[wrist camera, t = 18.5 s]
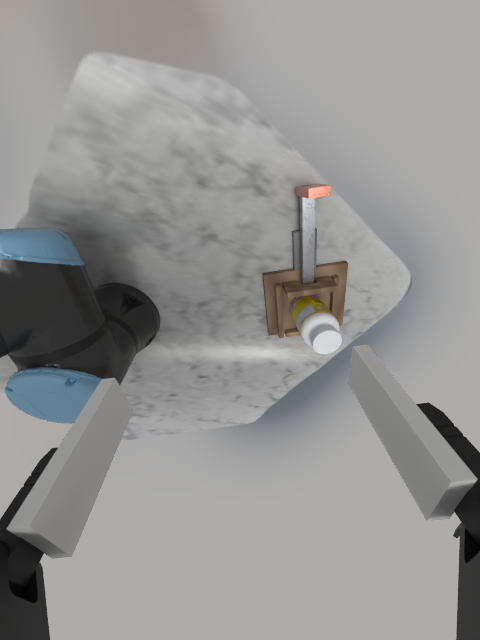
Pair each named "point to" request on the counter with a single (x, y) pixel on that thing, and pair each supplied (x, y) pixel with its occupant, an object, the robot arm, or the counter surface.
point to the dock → (302, 290)
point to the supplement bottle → (316, 323)
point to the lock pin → (308, 227)
